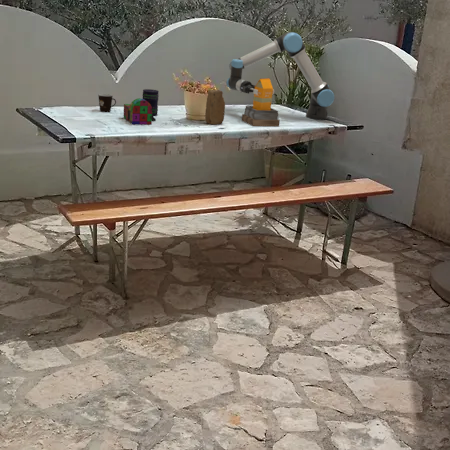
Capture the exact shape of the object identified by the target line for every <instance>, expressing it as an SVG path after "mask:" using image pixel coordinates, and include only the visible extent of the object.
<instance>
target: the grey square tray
mask: <svg viewBox="0 0 450 450" xmlns="http://www.w3.org/2000/svg"><path fill="white" fill-rule="evenodd" d="M280 120H281V119H279V110H277V109H274V108H272V107H271V111H270V110H255V109H253V105H245V107H244V113H242V114H241V122H244V123H246V124H248V125H250V126H252V127H280V122H281V121H280Z"/></svg>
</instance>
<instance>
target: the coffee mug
mask: <svg viewBox="0 0 450 450" xmlns="http://www.w3.org/2000/svg"><path fill="white" fill-rule="evenodd" d="M113 95H114V94H113ZM113 95H112V94H110V93H108V94H107V93H99V94H98V105H99V106H98V107H99V112H100V113H110V112H111V111H112V108H113V107H114V106H116V104H117V100H116V99H115V98H113ZM113 100H114V103H113V102H112V101H113ZM112 103H113V104H112Z"/></svg>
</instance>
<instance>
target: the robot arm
mask: <svg viewBox="0 0 450 450" xmlns="http://www.w3.org/2000/svg"><path fill="white" fill-rule="evenodd" d="M283 52H286V53H287V55H288V56H289V58H291V59H293V60H294V61H295V63H296V65H297V66H298V68H299V71H300V72H301V73H302V75H303V77H304V78H305V80H306V82H307V83H308V85H309V87H310V88H311V91H310V92H311V94H310V101H309V107H308V108H307V111H306V113H305V117H306V118H309V119H312V120H320V119H321V120H322V119H325V120H328V117H329V116H328V110H327V109H328V108H327V107H330V106H331V105H332V104H333V103H334V101H335V93H334V92H333V90H331V88H330V85H329V84H328V82H325V81H323V79H322V77H321V76H320V75H319V73H318V71H317V69H316V67H315V66H314V64H313V62H312V60H311V59H310V57H309V55H308V54H307V51H306V45H305V43H304V42H303V38H302V37H301V35H300V34H298V33H297V32H293V31H288V32H285V33H283V34H281V35H280V36H278V37H276V38H274V40H273V41H272V42H270V43H267V44H265V45H264V46H262V47H259V48H258V49H255V50H253V51H251V52H249V53H247V54H245V55H243V56H241V57H238V58H237V59H236V58H233V59H232V60H231V61H230V63H229V65H228V67H229V70H230V75H229V77H228V78H227V80H226V86H227V88H228V87H229V88H228V89H231V90H232V91H237V92H240V93H244V94H248V95H249V94H253V95H254V94H258V90H256V89H255V86H256V84H255V85H254V84H252V82H251V81H249V80H245V79H242V77H243V70H244V69H245V68H248V67H250V66H252V65H254V64H257V63H258V62H260V61H262V60H265V59H266V58H269V57H271V56H273V55H275V54H277V53H280V54H281V53H283ZM272 95H275V89H274V88H273V93H272Z"/></svg>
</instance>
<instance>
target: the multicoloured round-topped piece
mask: <svg viewBox="0 0 450 450" xmlns="http://www.w3.org/2000/svg"><path fill="white" fill-rule="evenodd" d="M123 119H124V120H125V121H127V122H128V123H130V125H138V126H139V125H140V126H141V125H143V126H145V125H146V126H147V125H148V126H149V125H152V123H153V122H156V118H155V116H152V107H151V105H150V103H149V102H147V101H146V100H144V99H143V98H140V97H139V98H136V99H134V100H132V101H131V103H123Z"/></svg>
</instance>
